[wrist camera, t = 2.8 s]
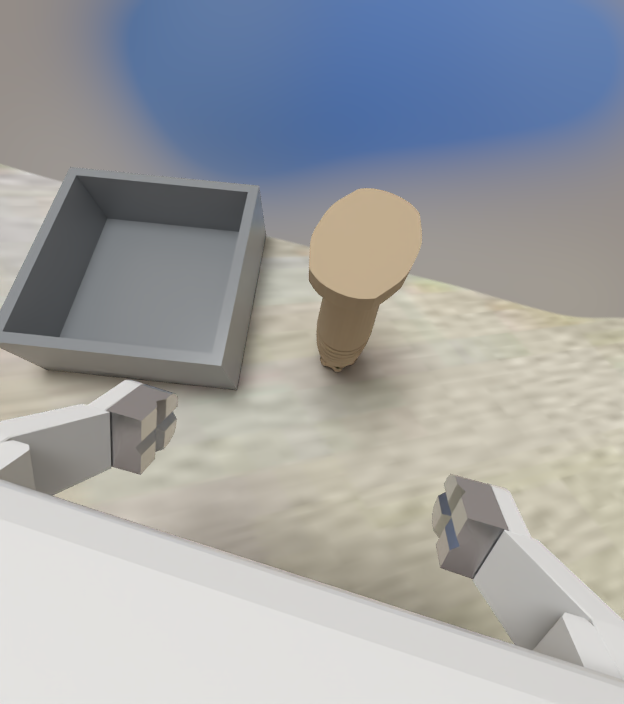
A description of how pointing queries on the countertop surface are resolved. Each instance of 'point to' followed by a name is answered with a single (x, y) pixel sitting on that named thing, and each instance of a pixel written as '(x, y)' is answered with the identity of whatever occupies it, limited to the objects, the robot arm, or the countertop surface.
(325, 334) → the handle
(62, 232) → the box
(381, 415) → the countertop surface
